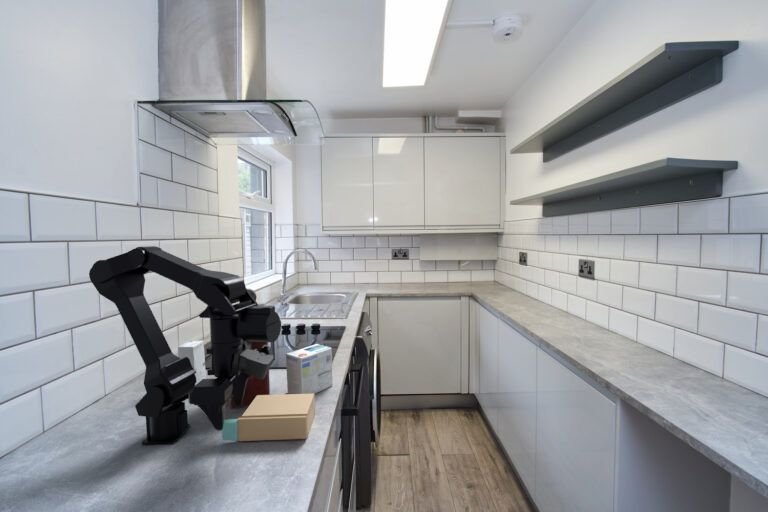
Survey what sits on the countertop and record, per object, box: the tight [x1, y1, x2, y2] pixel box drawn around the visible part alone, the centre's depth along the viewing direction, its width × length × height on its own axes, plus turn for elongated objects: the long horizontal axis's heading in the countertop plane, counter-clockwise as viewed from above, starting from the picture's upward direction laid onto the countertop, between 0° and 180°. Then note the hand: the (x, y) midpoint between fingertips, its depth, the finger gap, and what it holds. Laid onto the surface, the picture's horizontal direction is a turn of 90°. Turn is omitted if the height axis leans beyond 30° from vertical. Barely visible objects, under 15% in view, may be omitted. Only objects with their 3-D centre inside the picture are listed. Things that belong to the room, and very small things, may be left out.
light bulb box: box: [285, 343, 333, 394], centre depth 91 cm, size 11×7×11 cm, turn 141°
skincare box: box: [177, 340, 207, 385], centre depth 94 cm, size 6×4×12 cm
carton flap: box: [221, 416, 307, 442], centre depth 68 cm, size 16×1×4 cm, turn 92°
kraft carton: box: [241, 393, 316, 439], centre depth 73 cm, size 13×9×5 cm
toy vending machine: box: [229, 288, 271, 410], centre depth 86 cm, size 9×11×28 cm
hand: (229, 416), depth 68 cm, fingers open, 9 cm apart
